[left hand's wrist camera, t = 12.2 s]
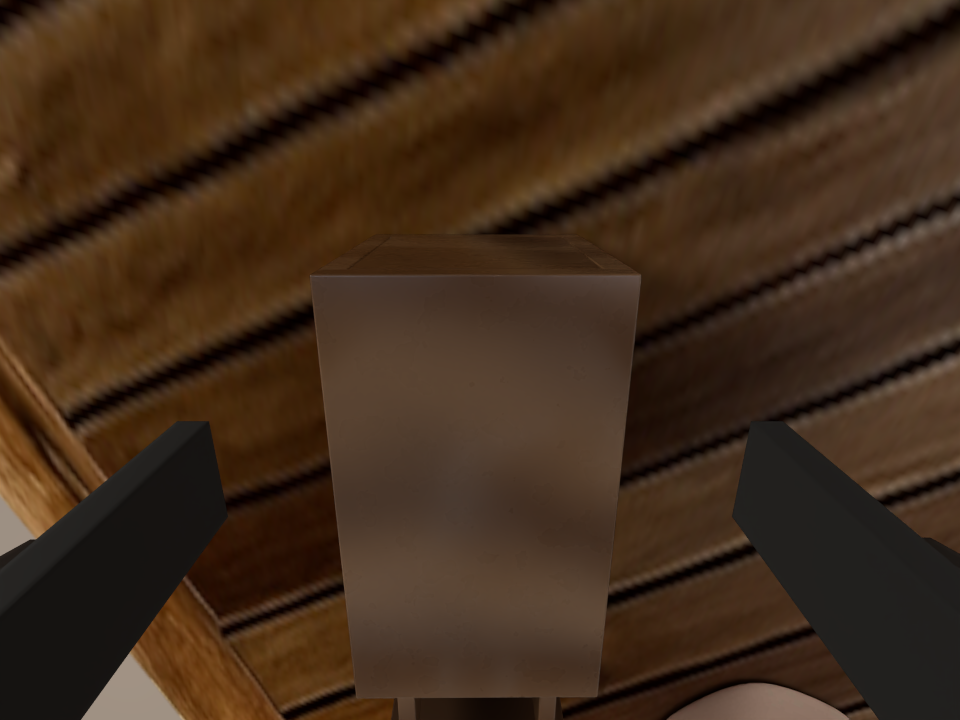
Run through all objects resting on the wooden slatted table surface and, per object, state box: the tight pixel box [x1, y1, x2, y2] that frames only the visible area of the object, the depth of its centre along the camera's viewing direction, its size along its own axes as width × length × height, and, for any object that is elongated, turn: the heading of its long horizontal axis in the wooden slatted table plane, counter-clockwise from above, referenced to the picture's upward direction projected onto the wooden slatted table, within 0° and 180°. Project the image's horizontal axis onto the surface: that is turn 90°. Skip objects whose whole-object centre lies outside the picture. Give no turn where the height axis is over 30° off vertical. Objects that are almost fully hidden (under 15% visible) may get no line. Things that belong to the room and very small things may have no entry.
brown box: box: [310, 234, 641, 698], centre depth 24 cm, size 18×10×11 cm, turn 0°
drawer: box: [391, 697, 563, 720], centre depth 28 cm, size 22×9×9 cm, turn 0°
